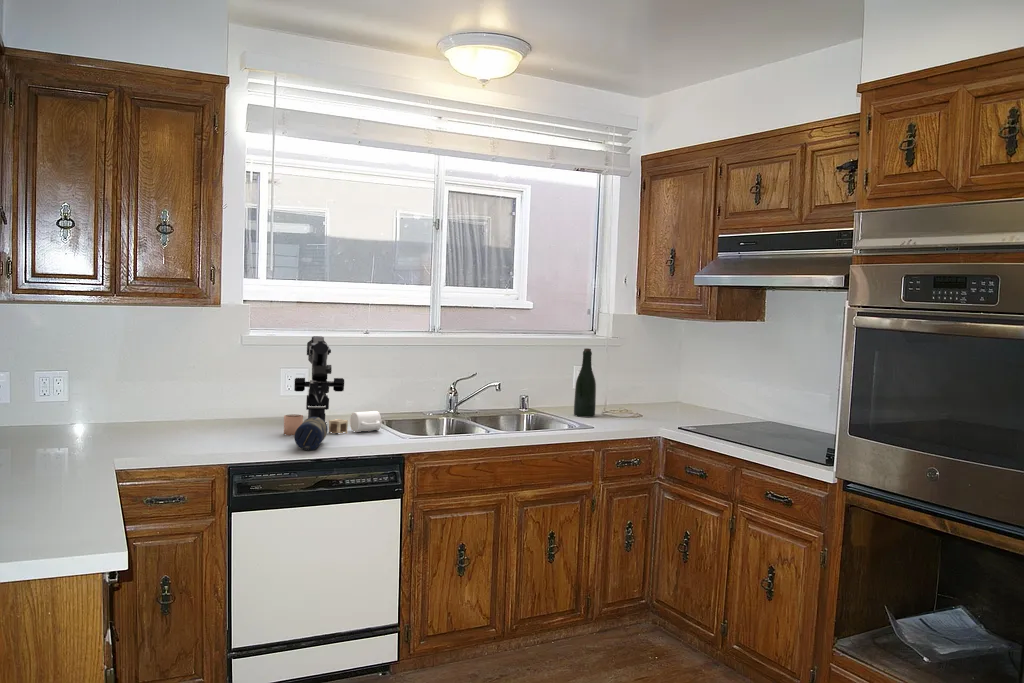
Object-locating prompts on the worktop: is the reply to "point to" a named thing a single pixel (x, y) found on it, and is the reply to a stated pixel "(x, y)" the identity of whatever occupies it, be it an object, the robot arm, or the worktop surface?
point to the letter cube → (338, 426)
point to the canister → (311, 433)
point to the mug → (365, 421)
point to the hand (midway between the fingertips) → (319, 402)
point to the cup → (292, 423)
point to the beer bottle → (585, 388)
